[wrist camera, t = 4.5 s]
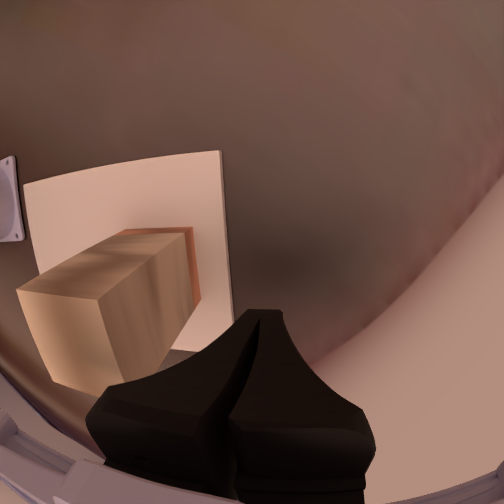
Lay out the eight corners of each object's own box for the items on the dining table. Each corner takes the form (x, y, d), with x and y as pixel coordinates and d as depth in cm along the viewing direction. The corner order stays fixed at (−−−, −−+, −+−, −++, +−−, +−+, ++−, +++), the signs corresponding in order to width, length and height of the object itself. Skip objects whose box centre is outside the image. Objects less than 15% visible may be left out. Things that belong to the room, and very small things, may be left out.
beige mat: (60, 326, 24) (57, 329, 23) (27, 183, 19) (23, 184, 19) (236, 349, 21) (235, 354, 21) (221, 150, 17) (219, 150, 16)
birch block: (137, 296, 20) (53, 381, 11) (125, 229, 19) (16, 289, 9) (201, 299, 19) (134, 406, 10) (192, 226, 18) (96, 300, 8)
